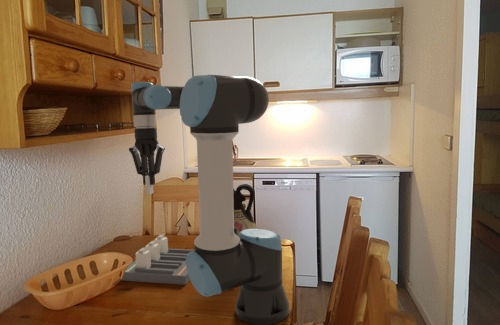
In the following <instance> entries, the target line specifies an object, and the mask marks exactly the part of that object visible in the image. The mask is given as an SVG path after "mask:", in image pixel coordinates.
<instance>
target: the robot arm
mask: <svg viewBox="0 0 500 325" xmlns="http://www.w3.org/2000/svg"><path fill="white" fill-rule="evenodd" d="M130 87H131V89H130V90H131V92H130V95H131V103H132V113H133V114H132V116H133V118H132V119H133V127H134V130H133V132H134V138H135V143H134V145H133V146H131V147H129V148H128V151H129V153H130V154H131V157H132V158H133V163H134V166H135V169H136V170H135V171H136V173H137V175H141V176H142V181H143V185H144V186H145V192H146V193H145V194H146V195H152V194H154V193H155V192H154V185H156V177H155V176H156V175H158V174H160V172H161V166H162V159H163V154H164V152H165V150H166V148H165V146H161V145H160V144H159V142H158V130H157V128H156V126H157V116H156V113H157V112H156V110H159V111H160V110H179V114H180V117H181V121H182V123H183V124H184V125H185V126H186V127H189V131H190V132H189V133H190V134H191V136H192V137H193V138H194V139H195V140H196V148H197V150H196V151H197V153H196V154H197V178H198V179H197V184H198V209H199V210H198V213H199V235H198V236H196V238H195V239H194V240H193V241H194V242H193V246H194V249H193V250H194V251H191V252H189V253H188V254H187V256H186V268H187V272H188V275H189V278H190V280H189V281H190V282H191V284H192V286H193V288H194V289H195V290H196V291H197V293H198V294H200V295H201V296H203V297H211V296H214V295H221V294H222V293H224V292H227V291H229V290H232V289H235V288H238V287H240V288H239V291H238V295H237V297H236V298H237V299H236V301H235V315H236V317H237V318H238V319H240V320H241V321H242V322H244V323H246V324H250V325H274V324H277V323H280V322H282V321H284V320H285V319H286V318H287V317H288V315H290V300H289V299H288V297H287V293H286V289H285V288H284V285H283V248H282V239H281V236H280V235H279V234H278V233H276V232H275V231H273V230H270V229H263V228H258V229H245V230H242V231H241V232H240V233H239V235H238V236H237V235H236V234H235V233H234V199H233V188H234V154H233V153H234V150H233V148H234V147H233V145H234V144H233V139H234V138H235V137H236V136H237V135H238V134H239V132H240V131H239V127H240V126H239V124H240V125H241V124H248V123H250V124H251V123H252V122H255V121H257V120H259V119H260V118H262V117H263V115H264V114H265V113H266V112H267V109H268V108H269V107H268V106H269V101H270V97H269V93H268V91H267V89H266V86H264V84H263V83H262V82H261V81H259V80H258V79H255V78H253V77H251V76H243V75H241V76H237V75H236V76H235V75H221V74H202V75H199V74H198V75H193V76H192V77H190V78H189V79H188V80H187V81H186V82H185V84H184V86H175V85H172V86H171V85H169V86H168V85H161V84H154V83H152V82H150V81H137V82H136V81H135V82H133V83H131V86H130ZM138 151H139V152H138ZM155 151H156V154H155Z"/></svg>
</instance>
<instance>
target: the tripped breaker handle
mask: <svg viewBox="0 0 500 325" xmlns="http://www.w3.org/2000/svg"><path fill="white" fill-rule="evenodd" d="M135 260H136V268H150V267H151V256H150V251H148V250H147V248H146V247H141V248H140V249H139V250H138V251H136V252H135Z"/></svg>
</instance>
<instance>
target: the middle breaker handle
mask: <svg viewBox="0 0 500 325" xmlns="http://www.w3.org/2000/svg"><path fill="white" fill-rule="evenodd" d="M144 248H147V250H148V251H150V256H151V260H159V259H160V247H159V244H156V241H154V240H151V241H150V242H148V244H146V245H145V247H144Z"/></svg>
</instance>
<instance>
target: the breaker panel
mask: <svg viewBox="0 0 500 325" xmlns="http://www.w3.org/2000/svg"><path fill="white" fill-rule="evenodd" d="M191 251H194V249H183V248H168V252H167V253H160V259H159V260H151V267H150V268H136V259H135V260H133V262H131V263H129V266H128V265H127V266H128V267H127V266H126V267H127V269H126V270H125V272H124V275H123V277H122V280H121V281H124V282H125V281H127V282H139V283H140V282H141V283H154V284H168V285H170V284H171V285H185V286H186V285H188V283H189V281H191V280H190V278H189V275H188V272H187V268H186V256H187V254H188V253H189V252H191Z"/></svg>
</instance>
